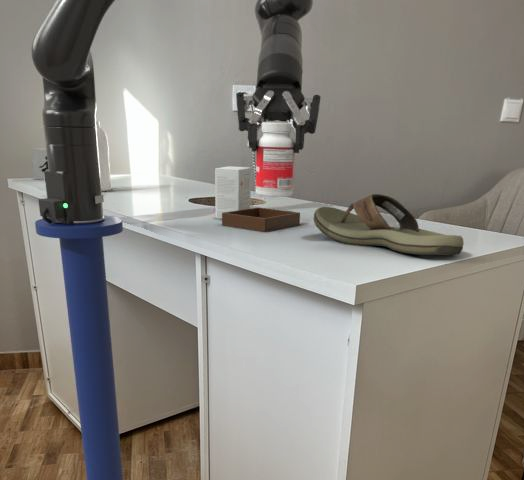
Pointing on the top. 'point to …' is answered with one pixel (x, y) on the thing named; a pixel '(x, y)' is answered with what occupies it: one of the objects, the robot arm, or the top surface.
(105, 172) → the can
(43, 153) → the icon cube
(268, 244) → the top surface
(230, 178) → the small box
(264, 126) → the pill bottle
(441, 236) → the flip flop
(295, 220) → the tray
